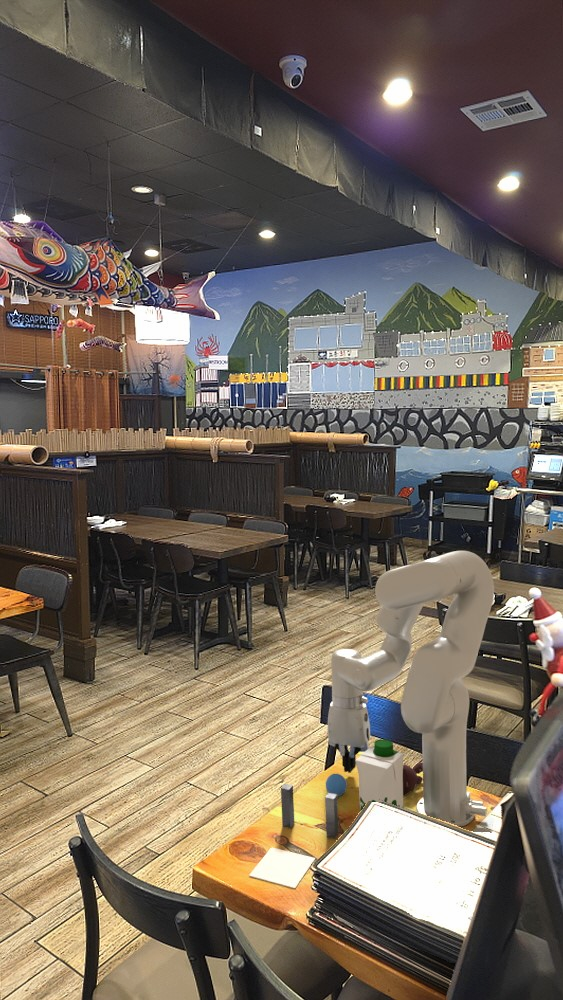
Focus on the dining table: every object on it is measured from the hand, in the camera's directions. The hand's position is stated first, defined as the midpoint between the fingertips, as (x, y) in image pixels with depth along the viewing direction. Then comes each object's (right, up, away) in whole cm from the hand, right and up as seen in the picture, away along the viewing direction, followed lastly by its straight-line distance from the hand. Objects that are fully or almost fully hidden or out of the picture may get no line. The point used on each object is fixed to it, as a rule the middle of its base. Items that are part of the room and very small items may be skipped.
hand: (349, 769), depth 175 cm
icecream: (+12, -2, -8) cm, 15 cm away
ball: (-4, 0, -9) cm, 10 cm away
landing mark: (-17, -6, -35) cm, 40 cm away
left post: (-16, -4, -21) cm, 26 cm away
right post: (-6, -5, -25) cm, 26 cm away
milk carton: (+4, -4, -26) cm, 27 cm away
